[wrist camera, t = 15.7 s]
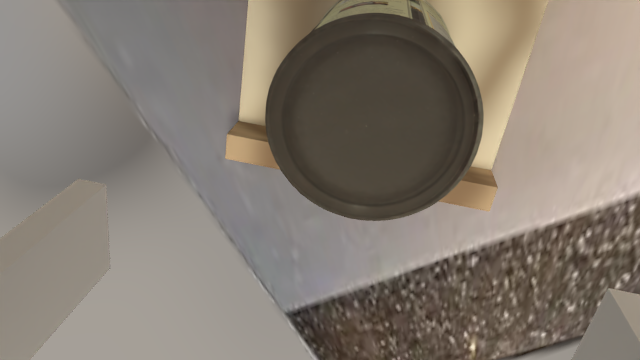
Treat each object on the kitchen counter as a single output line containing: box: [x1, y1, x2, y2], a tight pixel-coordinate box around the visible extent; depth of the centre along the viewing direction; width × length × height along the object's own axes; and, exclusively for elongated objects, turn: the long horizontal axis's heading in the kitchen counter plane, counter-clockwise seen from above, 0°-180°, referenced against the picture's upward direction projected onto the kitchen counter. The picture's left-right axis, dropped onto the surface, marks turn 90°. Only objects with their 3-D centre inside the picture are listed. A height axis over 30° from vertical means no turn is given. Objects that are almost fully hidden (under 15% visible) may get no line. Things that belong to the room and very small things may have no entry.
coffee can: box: [265, 0, 484, 221], centre depth 30 cm, size 10×10×14 cm
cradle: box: [225, 0, 548, 211], centre depth 36 cm, size 20×20×4 cm
